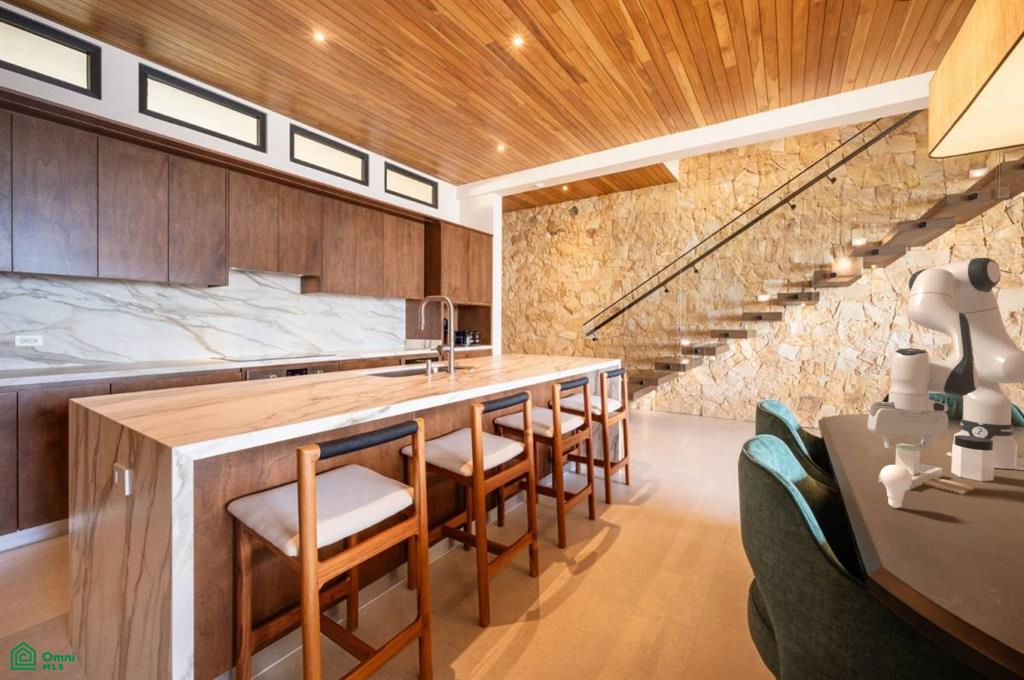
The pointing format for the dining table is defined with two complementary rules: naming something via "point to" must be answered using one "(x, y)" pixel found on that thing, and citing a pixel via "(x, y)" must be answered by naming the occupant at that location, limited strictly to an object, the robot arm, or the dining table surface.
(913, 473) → the block
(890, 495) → the lightbulb
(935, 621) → the dining table surface
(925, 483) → the coaster
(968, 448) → the jar
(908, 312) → the robot arm
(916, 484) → the power strip
